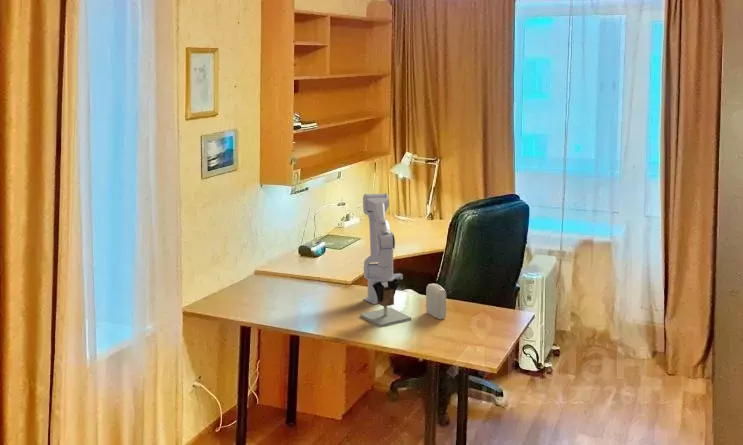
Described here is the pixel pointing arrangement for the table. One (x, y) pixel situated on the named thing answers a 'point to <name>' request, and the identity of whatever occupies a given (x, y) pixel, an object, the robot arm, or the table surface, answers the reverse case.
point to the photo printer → (436, 301)
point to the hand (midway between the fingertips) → (385, 300)
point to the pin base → (385, 317)
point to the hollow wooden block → (387, 297)
